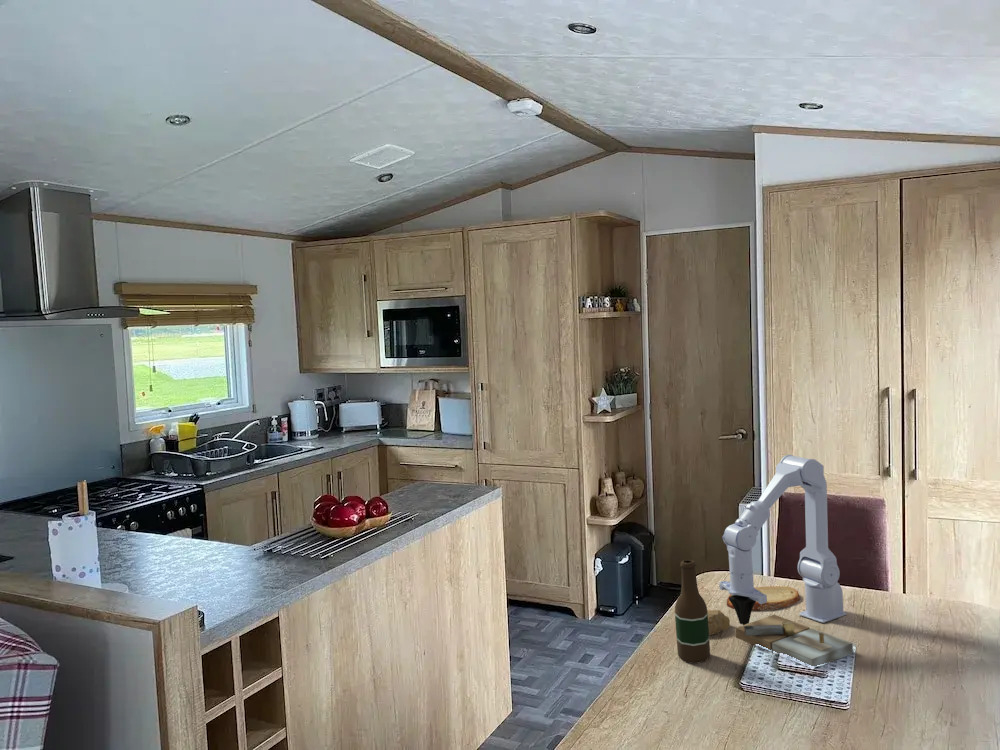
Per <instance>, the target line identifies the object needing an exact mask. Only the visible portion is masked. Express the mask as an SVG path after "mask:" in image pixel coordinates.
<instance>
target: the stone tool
mask: <svg viewBox="0 0 1000 750" xmlns="http://www.w3.org/2000/svg"><path fill="white" fill-rule="evenodd" d="M707 612H708V627H709V637H711V636H713V635H714V634H718V633H720V632H722V631H723V630H724V631H726V630H727V629H729V628H730V626H731V624H730V618H729V617H728V616H727V615H725V613H723V612H722V610H720V609H707Z"/></svg>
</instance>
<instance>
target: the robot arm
mask: <svg viewBox="0 0 1000 750" xmlns="http://www.w3.org/2000/svg"><path fill="white" fill-rule="evenodd" d="M792 487H801V488H802V489H803V490H804V508H805V509H804V511H805V512H804V513H805V517H804V518H805V519H804V520H805V547H804V548H802V550H801V551H800V552H799V560H798V562H797V572H798V574H799V575H800V577H802V582H804V592H805V593H804V594H805V595H804V596H805V610H804V611H801V612H799V613H798V614H799V616H801V617H804V618H807V619H810V620H812V621H815V622H817V623H823V624H824V623H828V622H830V621H833V620H836V619H839V618H841V617H843V616H844V617H845V616H847V612H845V610H844V593H843V589H842V588H843V587H842V586H841V585H840V583H839V582H838V581H839V579H840V573H841V572H840V568H839V566H838V562H837V557H836V556H835V554H834V553H833V552H832V551H831V550H830V548H829V531H828V529H829V528H828V527H829V525H828V521H829V519H828V484H827V479H826V478H825V471H824V465H823V464H822V463H821V462H819V461H818V460H817V459H815V458H814V459H813V458H806V457H800V456H796V455H795V456H794V455H792V454H786V455H784V456H782V458H781V459H780V461H779V462H778V464H776V466H775V473H774V475H773V477H772V479H770V481H769V483H768V485H767V486H766V487H765V489H764V491H763V492H762V494H761V495H760V497H759V498H758V499H757V500H756V501H755V500H754V501H751V502H750V503H747V504H746V506H745V509H744V510H743V512H742V513H741V514H740V516H739V517H738V518H737V519H736V520H735V521H734V523H733V524H730V525H728V526H727V527H726V528H725V530H724V532H723V535H722V540H723V543H724V544H725V545H726V550H727V551H728V552H727V553H728V565H729V581H727V580H722V581H719V582H718V584H719V590H721V591H727V592H728V594H729V595H730V594H731V595H732V596H730V597H729V596H728V597H729V600H730V602H731V603H732V605H733V607H734V609H733V610H735V613H736V616H737V619H738V623H739V624H740V625H741V626H743V625H746V624H748V623H750V619H751V615H752V612H753V611H752V609H753V606H754V604H755V602H756V601H757V602H759V604H764V603H767V595H765V594H763V593H761V592H760V591H758V590H757V589H755V587H754V586H755V585H754V584H755V583H754V570H753V569H754V568H753V554H752V550H753V549H752V548H753V547H754V546H755V545H756V543H757V537H758V535H759V531H760V530H761V528H762V527H763V526H764V525H765V523H766V521H767V520H768V519H769V518H770V516H771V513H770V509H771V508H772V507H773V505H774V504H775V503H776V502H777V501H778V500H779V498H780V497H781V496H782V495H783V494H784V493H785V492H786V490H788V489H789V488H792Z"/></svg>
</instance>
